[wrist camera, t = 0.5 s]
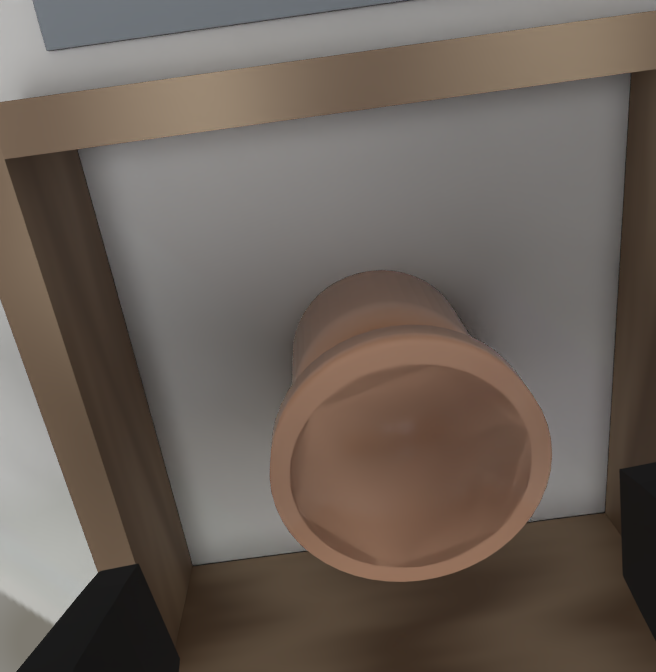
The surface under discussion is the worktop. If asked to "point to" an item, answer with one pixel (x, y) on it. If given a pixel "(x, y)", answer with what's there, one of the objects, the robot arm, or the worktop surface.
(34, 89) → the worktop surface
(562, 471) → the worktop surface
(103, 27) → the slate mat
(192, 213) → the worktop surface
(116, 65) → the worktop surface
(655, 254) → the shallow wooden tray
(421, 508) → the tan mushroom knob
